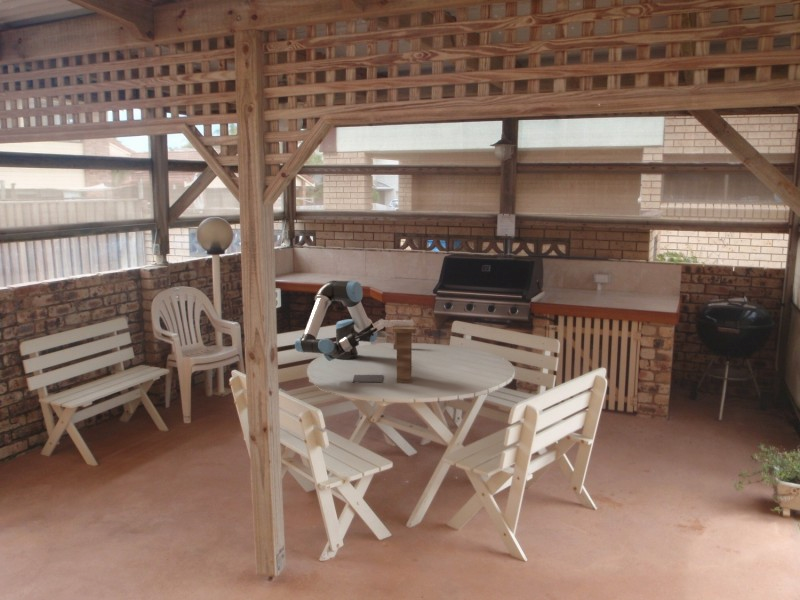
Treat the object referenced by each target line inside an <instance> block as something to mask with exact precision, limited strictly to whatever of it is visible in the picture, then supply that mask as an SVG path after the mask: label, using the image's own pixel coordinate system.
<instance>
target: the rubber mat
mask: <svg viewBox="0 0 800 600" xmlns="http://www.w3.org/2000/svg"><path fill="white" fill-rule="evenodd" d="M383 379H384V375H383V374H354V375H353V378H352V383H355V382H359V383H358V384H361V383H363V384H369V383H371V384H373V383H375V384H378V383H379V384H382V383H383Z"/></svg>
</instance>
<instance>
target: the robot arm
mask: <svg viewBox="0 0 800 600" xmlns="http://www.w3.org/2000/svg"><path fill="white" fill-rule="evenodd" d="M363 290H364V289H363V286H362V284H361V283H360V282H359V281H354V280H330V281H329V280H328V281H327V282H325V283H324V284H323V285H322V286H321V287H320V288H319V289H318V291H317V292H316V294H315V296H314V301H315V302H314V305H313V307H312V310H311V313H310V316H309V318H308V321H307V323H306V327H305V329H304V331H303V334H302V337H297V338H296V339H295V342H294V349H295V350H296V351H297V352H298V353H299V352H300V353H311V354H323V356H324V358H325V360H327V361H328V362H331V361H333V360H336V359H337V358H339V359H338V360H352V359H351V358H353V359H356V358H358V357H357V356H359V353H358V349H357V347H358V346H360V343H359V342H367V343H374V342H376V340H377V337H378V333H379V331H381V330H383V329H384V328H385V327H383V325H382V324H379V325H378V321H379V320H377V321H375V322H374V323H373V321H372V320H371V318H369V317H368V315H367V313H366V311H365V308H364V306H363V303H362V300H363V297H364V291H363ZM333 301H334V302H341V303H342V305H343V306H344V307H346V308H347V311H348V312H349V315H350V316H351V319H343V320H339V321H337V322H336V323H335V337H336V339H335V342H334V341H333V340H331V339H329V338H322V339H320V338H319V339H317V337H318V334H319V331H320V329H321V326H322V324H323V320H324V318H325V316H326V313H327V310H328V308H329V306H330V305H331V304H332V302H333ZM380 320H384V319H383V318H380ZM355 357H356V358H355Z"/></svg>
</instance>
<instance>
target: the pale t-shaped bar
mask: <svg viewBox="0 0 800 600" xmlns="http://www.w3.org/2000/svg"><path fill="white" fill-rule="evenodd" d="M377 321H378V325H379V324H382V325H383V327H384V328H388V327H389V328H391V327H392V328H393V327H413V323H414V319H383V320H381V319H378V320H377Z"/></svg>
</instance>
